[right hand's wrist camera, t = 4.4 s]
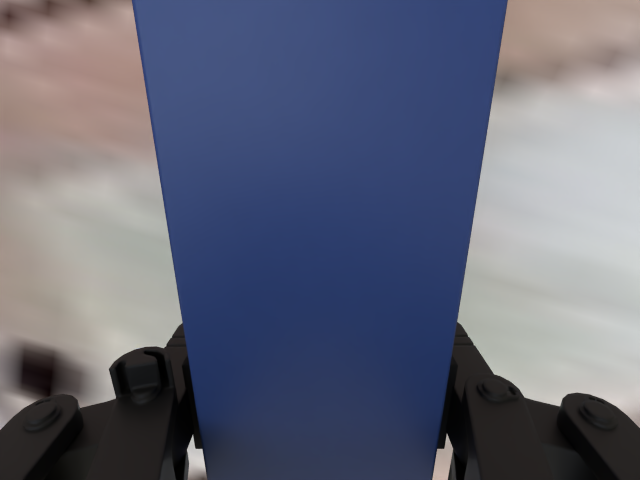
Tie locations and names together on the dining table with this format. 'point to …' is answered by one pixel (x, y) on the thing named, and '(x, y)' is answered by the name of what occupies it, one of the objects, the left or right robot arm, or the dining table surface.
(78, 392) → the dining table surface
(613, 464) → the right robot arm
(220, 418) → the bar
